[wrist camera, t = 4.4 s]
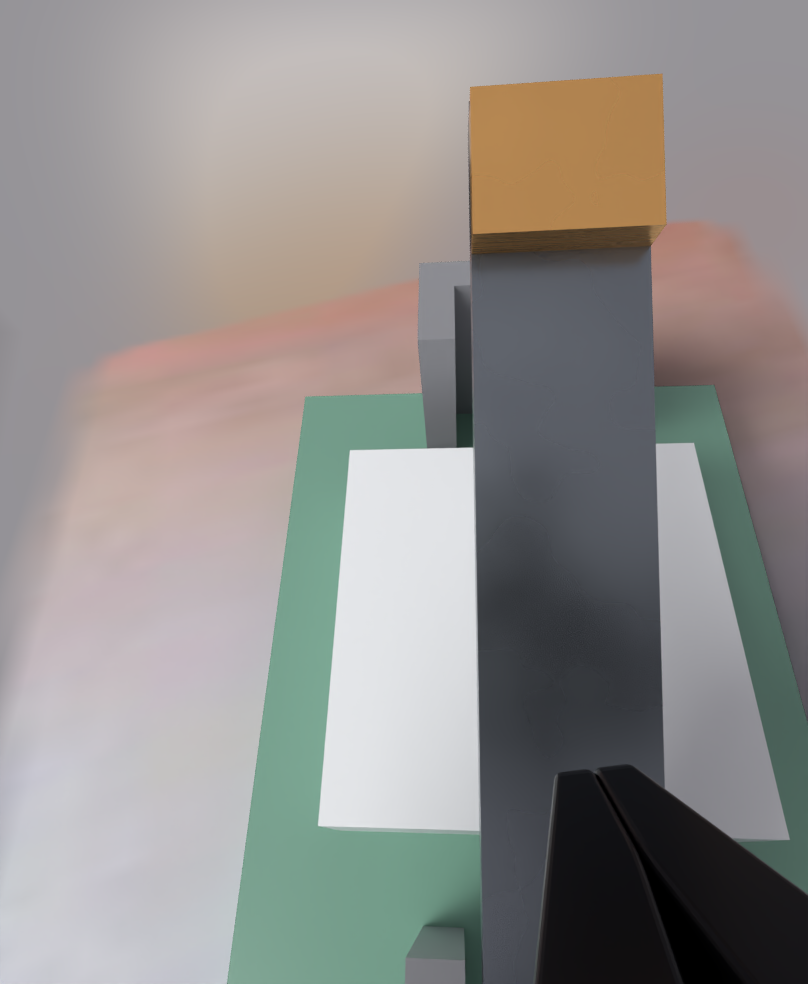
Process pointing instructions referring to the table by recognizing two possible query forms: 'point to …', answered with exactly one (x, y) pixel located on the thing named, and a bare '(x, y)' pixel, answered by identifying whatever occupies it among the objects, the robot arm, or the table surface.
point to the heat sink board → (430, 878)
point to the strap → (561, 465)
